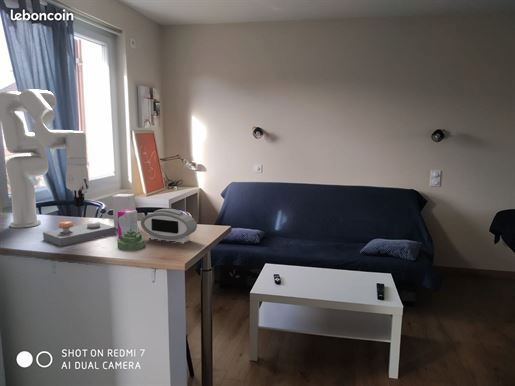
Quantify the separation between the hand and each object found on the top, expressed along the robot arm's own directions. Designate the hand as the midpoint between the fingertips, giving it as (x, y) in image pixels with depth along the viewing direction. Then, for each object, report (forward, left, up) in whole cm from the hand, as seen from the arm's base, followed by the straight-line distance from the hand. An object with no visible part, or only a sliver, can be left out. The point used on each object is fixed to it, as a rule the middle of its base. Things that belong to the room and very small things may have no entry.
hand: (79, 206), depth 170 cm
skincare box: (+2, +20, -13) cm, 24 cm away
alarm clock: (+31, +21, -13) cm, 40 cm away
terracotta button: (0, -6, -11) cm, 12 cm away
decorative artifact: (+27, +6, -13) cm, 31 cm away
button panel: (0, 0, -13) cm, 13 cm away
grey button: (0, +6, -13) cm, 14 cm away
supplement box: (+16, +12, -13) cm, 24 cm away
